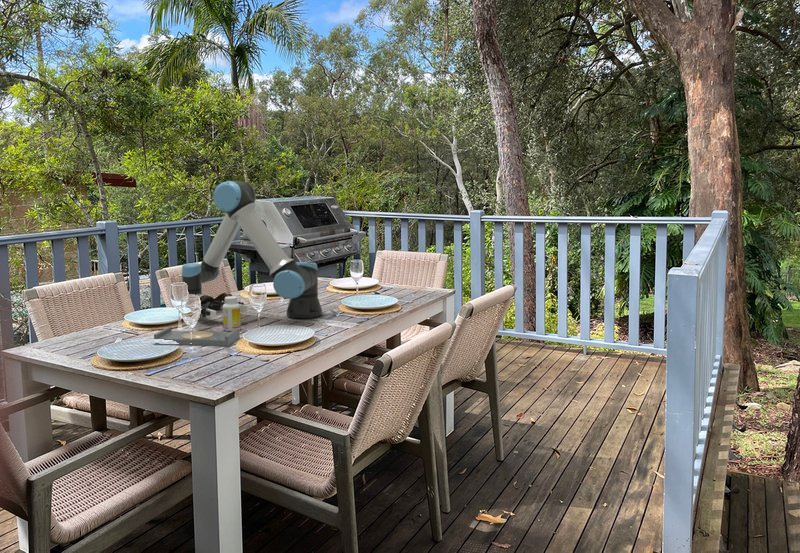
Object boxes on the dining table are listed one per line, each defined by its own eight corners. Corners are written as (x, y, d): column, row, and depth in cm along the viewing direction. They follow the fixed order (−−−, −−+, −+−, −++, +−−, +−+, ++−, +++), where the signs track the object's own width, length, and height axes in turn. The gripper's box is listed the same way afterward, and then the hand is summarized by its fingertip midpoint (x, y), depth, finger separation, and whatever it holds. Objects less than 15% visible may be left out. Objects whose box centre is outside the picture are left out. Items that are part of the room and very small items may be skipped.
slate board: (239, 337, 238) (239, 328, 237) (228, 346, 226) (228, 336, 225) (168, 335, 240) (168, 326, 239) (154, 344, 228) (153, 334, 227)
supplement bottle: (243, 327, 253) (242, 295, 251) (238, 331, 247) (237, 298, 245) (226, 327, 253) (225, 295, 251) (221, 331, 247) (219, 298, 245)
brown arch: (235, 312, 285) (224, 296, 282) (217, 320, 287) (207, 305, 284) (242, 300, 296) (232, 285, 293) (225, 308, 298) (215, 293, 295)
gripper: (231, 308, 272) (259, 316, 258) (175, 317, 255) (202, 326, 240) (231, 291, 271) (258, 298, 256) (174, 299, 254) (201, 307, 239)
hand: (231, 312), depth 248 cm, fingers open, 13 cm apart
